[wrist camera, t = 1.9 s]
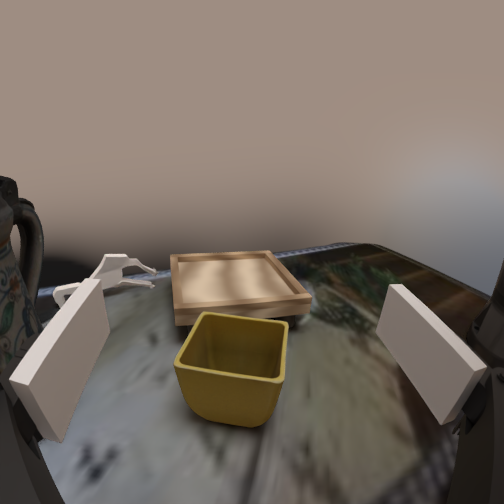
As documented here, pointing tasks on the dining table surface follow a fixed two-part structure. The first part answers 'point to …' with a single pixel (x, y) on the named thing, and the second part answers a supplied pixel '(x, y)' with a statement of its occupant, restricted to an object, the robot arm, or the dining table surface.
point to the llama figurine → (107, 276)
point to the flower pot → (233, 368)
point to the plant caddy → (235, 287)
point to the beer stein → (18, 273)
